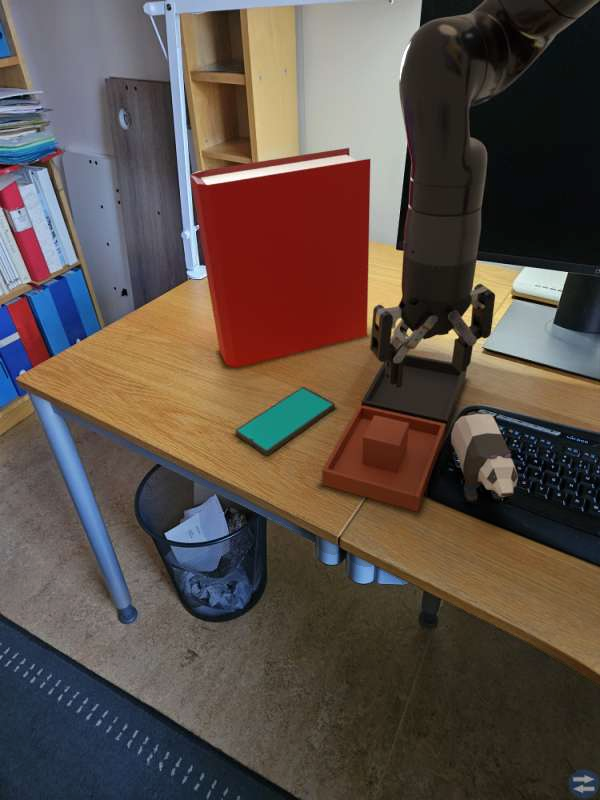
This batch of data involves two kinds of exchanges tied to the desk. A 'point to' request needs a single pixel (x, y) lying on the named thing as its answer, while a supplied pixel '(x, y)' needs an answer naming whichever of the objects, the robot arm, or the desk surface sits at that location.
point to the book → (285, 253)
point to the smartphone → (284, 420)
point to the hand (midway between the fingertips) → (427, 376)
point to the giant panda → (483, 455)
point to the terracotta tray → (380, 483)
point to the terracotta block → (385, 443)
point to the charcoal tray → (419, 390)
